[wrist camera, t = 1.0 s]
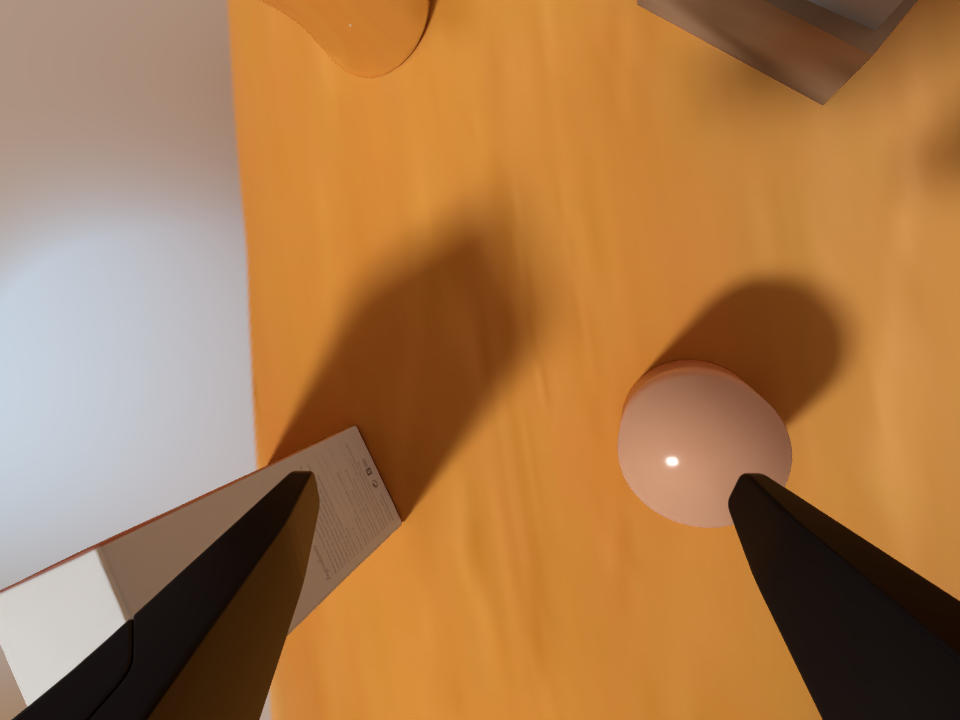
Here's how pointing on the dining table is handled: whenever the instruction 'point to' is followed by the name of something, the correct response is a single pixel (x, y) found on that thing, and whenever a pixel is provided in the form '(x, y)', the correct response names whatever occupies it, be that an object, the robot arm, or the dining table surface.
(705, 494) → the brown rounded cylinder
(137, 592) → the small box
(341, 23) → the beer glass
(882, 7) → the grey top block
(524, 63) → the dining table surface
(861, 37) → the walnut base block
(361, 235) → the dining table surface
